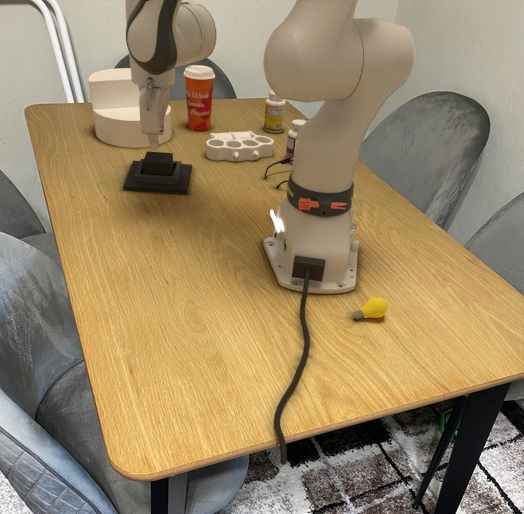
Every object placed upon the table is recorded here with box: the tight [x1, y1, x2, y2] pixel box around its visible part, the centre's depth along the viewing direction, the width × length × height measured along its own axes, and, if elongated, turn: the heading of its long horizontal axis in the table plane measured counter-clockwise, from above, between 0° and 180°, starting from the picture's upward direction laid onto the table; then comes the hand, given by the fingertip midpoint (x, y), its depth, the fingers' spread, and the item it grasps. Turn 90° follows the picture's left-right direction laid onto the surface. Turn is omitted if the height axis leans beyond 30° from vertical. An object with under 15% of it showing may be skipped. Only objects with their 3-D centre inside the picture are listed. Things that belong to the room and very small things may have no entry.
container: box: [88, 67, 173, 149], centre depth 135 cm, size 20×20×13 cm
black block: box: [143, 150, 174, 176], centre depth 119 cm, size 6×6×4 cm
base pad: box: [122, 158, 193, 195], centre depth 120 cm, size 14×14×2 cm
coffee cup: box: [183, 64, 216, 132], centre depth 142 cm, size 8×8×15 cm
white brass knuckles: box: [205, 130, 275, 163], centre depth 135 cm, size 3×18×15 cm
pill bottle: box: [284, 119, 308, 165], centre depth 132 cm, size 5×5×10 cm
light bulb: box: [352, 296, 388, 320], centre depth 87 cm, size 3×6×4 cm, turn 110°
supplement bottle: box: [263, 90, 287, 134], centre depth 146 cm, size 6×6×10 cm
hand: (157, 141), depth 114 cm, fingers open, 8 cm apart
